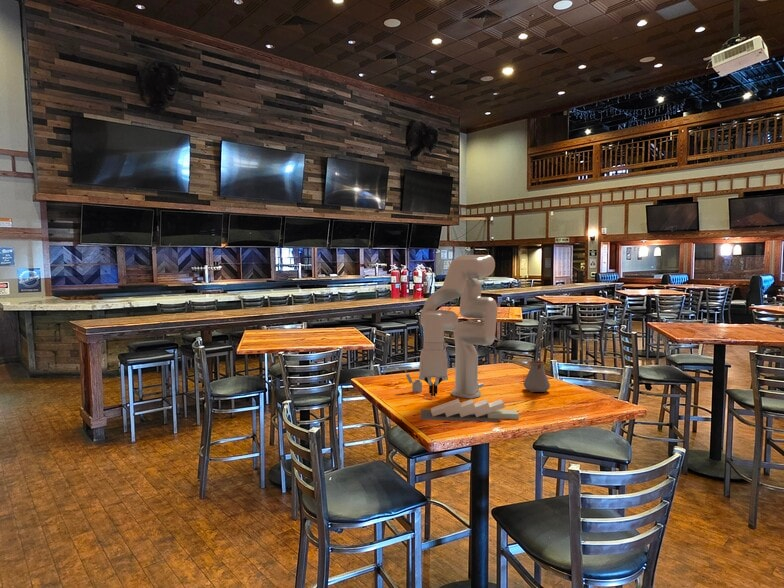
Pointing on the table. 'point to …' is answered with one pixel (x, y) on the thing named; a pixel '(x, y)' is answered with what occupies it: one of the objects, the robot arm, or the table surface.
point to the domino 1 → (445, 407)
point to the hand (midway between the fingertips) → (433, 395)
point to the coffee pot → (536, 378)
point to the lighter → (415, 384)
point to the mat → (455, 417)
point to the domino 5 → (503, 414)
